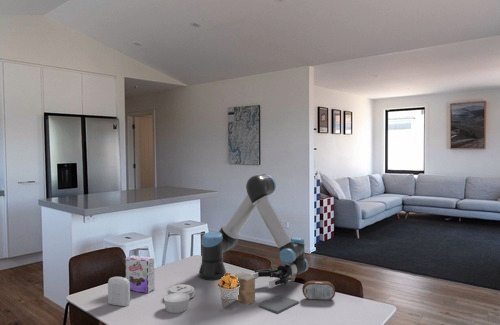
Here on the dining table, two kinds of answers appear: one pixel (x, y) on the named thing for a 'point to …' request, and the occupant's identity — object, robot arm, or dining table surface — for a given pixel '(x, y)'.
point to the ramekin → (176, 302)
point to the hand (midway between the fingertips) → (259, 281)
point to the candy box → (140, 273)
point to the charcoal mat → (278, 304)
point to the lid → (182, 289)
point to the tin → (318, 290)
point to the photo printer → (119, 291)
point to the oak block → (246, 288)
